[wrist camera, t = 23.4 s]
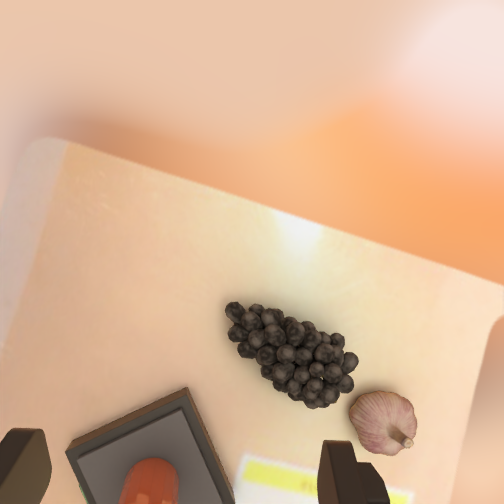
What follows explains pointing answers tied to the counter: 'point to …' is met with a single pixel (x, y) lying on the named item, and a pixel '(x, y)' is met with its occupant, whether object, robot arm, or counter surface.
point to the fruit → (293, 354)
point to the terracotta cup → (150, 483)
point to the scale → (151, 453)
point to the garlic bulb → (384, 422)
